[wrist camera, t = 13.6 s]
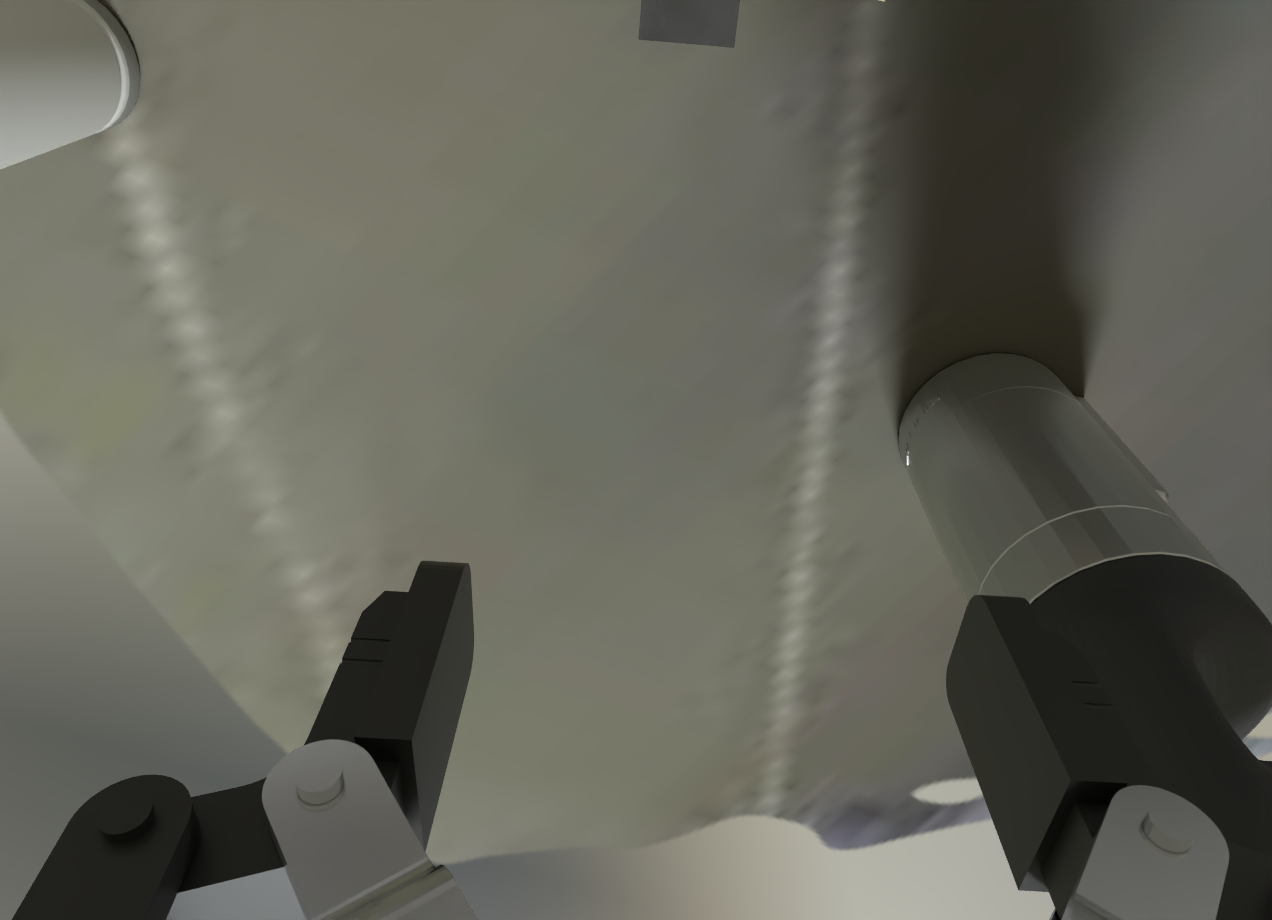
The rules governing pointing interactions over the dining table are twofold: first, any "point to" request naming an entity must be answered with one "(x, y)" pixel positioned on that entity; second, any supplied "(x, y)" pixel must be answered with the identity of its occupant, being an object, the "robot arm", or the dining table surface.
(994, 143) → the dining table surface
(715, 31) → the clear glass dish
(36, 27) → the travel mug
